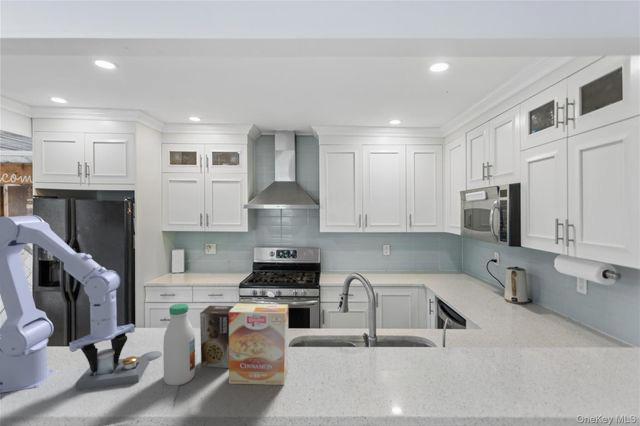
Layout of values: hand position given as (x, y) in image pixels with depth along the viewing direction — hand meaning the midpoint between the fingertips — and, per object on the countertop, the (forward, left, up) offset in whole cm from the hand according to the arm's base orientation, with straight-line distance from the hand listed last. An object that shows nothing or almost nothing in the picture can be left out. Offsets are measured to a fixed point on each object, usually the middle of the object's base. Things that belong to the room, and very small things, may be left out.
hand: (104, 366), depth 82 cm
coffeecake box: (+41, -10, -3) cm, 42 cm away
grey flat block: (+3, 0, -3) cm, 4 cm away
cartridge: (0, 0, -3) cm, 3 cm away
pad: (+9, +9, -3) cm, 13 cm away
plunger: (+6, 0, -2) cm, 6 cm away
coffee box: (+30, +1, -3) cm, 30 cm away
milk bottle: (+20, -5, -3) cm, 20 cm away
